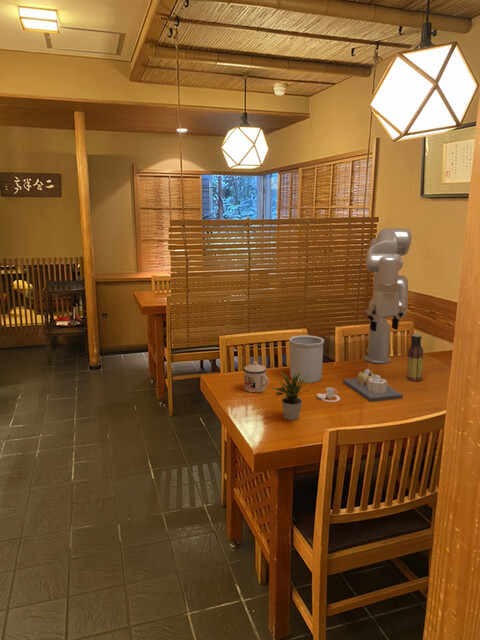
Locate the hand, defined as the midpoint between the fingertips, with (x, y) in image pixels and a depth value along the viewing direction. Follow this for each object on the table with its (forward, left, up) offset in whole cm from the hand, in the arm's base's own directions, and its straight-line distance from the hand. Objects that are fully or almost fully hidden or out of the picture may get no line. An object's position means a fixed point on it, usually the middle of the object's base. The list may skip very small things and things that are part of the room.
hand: (384, 329), depth 184 cm
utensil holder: (-19, -25, -25) cm, 40 cm away
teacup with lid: (-10, -50, -25) cm, 57 cm away
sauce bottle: (-5, +20, -25) cm, 32 cm away
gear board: (+2, -5, -25) cm, 25 cm away
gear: (+6, -5, -23) cm, 24 cm away
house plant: (+17, -46, -25) cm, 55 cm away
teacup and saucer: (+2, -26, -25) cm, 37 cm away
